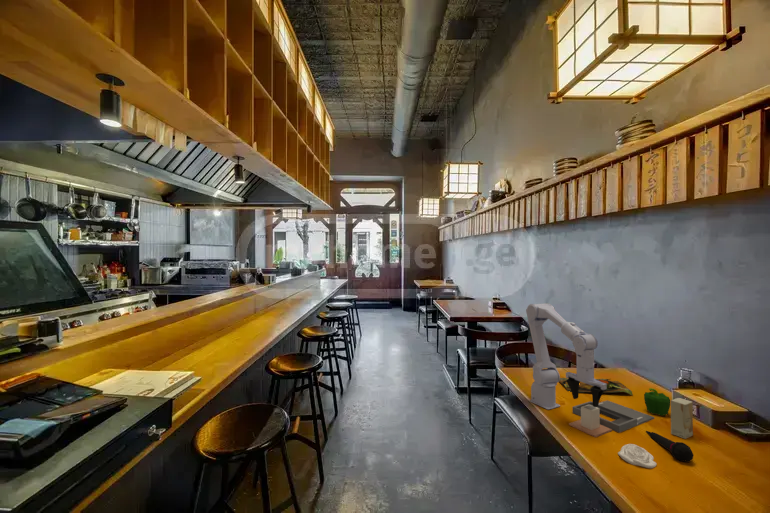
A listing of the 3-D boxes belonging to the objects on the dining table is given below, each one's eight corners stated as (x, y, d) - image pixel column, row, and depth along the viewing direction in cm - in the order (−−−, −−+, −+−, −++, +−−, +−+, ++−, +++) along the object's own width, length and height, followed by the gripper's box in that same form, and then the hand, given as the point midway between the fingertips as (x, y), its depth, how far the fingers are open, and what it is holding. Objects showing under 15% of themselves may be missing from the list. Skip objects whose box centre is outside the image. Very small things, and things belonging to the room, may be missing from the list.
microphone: (642, 441, 122) (683, 468, 103) (635, 425, 123) (675, 448, 104) (657, 437, 122) (701, 463, 102) (650, 421, 123) (693, 443, 103)
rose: (633, 436, 112) (664, 452, 103) (633, 449, 112) (664, 466, 102) (610, 440, 109) (640, 457, 100) (610, 454, 109) (640, 472, 100)
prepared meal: (568, 385, 159) (556, 372, 177) (568, 393, 159) (556, 379, 177) (634, 391, 154) (614, 377, 172) (633, 399, 154) (614, 384, 172)
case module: (580, 425, 126) (580, 406, 126) (589, 422, 129) (589, 404, 129) (591, 430, 123) (591, 410, 123) (599, 427, 125) (599, 408, 125)
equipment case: (571, 413, 138) (571, 407, 138) (607, 401, 149) (607, 396, 149) (617, 433, 122) (617, 426, 122) (654, 418, 133) (654, 412, 133)
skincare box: (685, 439, 117) (685, 404, 118) (670, 434, 121) (670, 400, 121) (693, 435, 120) (693, 401, 121) (678, 429, 124) (678, 397, 124)
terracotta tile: (569, 425, 128) (569, 423, 128) (585, 419, 132) (585, 417, 132) (595, 437, 119) (595, 435, 119) (611, 430, 123) (611, 429, 123)
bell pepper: (671, 413, 138) (670, 388, 138) (670, 420, 132) (669, 394, 132) (645, 407, 144) (645, 383, 144) (643, 413, 138) (643, 389, 138)
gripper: (611, 370, 122) (611, 407, 122) (573, 359, 135) (573, 393, 135) (599, 373, 119) (600, 411, 119) (562, 362, 132) (562, 396, 132)
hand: (585, 402), depth 127 cm, fingers open, 7 cm apart
